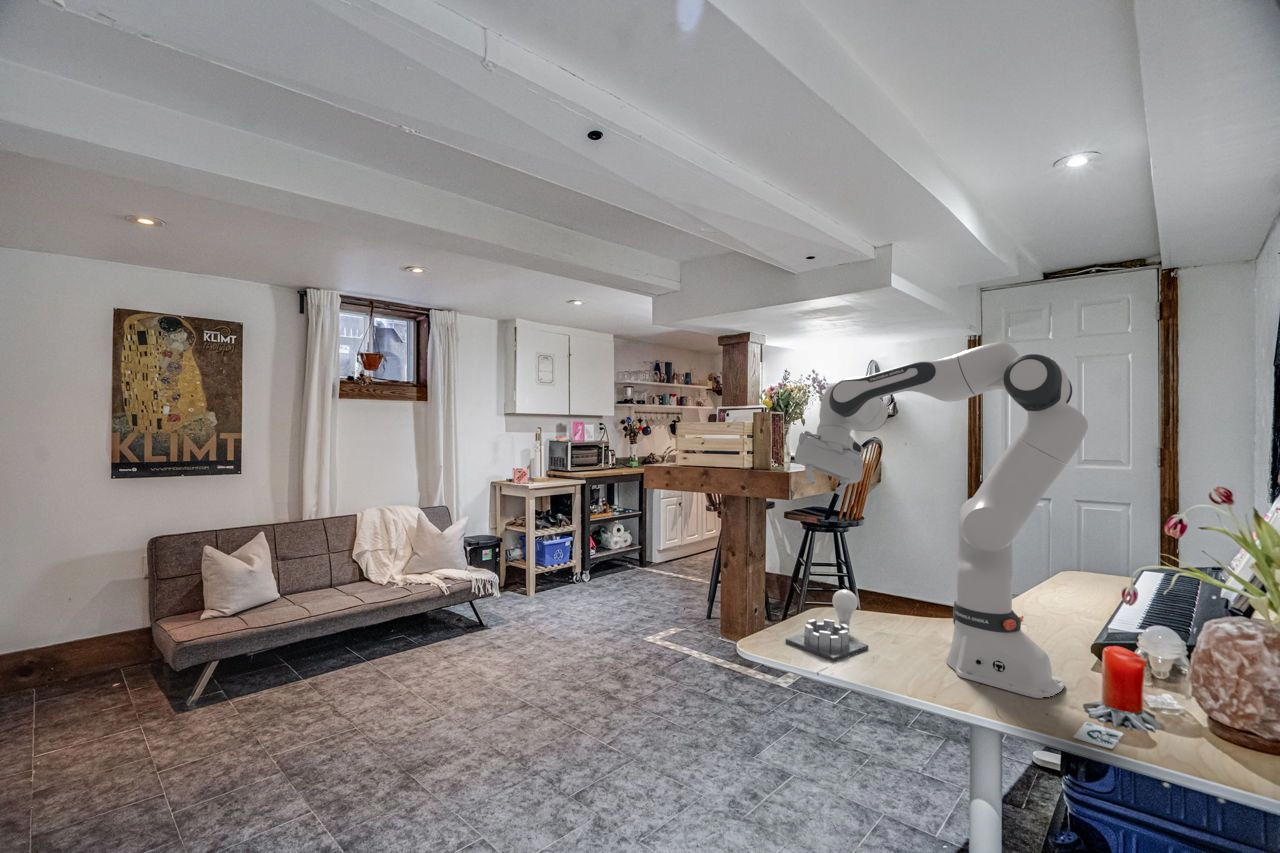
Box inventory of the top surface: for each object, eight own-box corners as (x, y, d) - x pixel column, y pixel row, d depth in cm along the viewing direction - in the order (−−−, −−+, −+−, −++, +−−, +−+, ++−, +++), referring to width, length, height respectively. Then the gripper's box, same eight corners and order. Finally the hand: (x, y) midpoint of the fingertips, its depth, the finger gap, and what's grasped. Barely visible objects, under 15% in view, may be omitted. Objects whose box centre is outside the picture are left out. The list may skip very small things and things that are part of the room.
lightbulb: (829, 632, 157) (830, 590, 157) (833, 625, 162) (834, 585, 162) (854, 637, 154) (856, 594, 154) (858, 629, 160) (859, 588, 159)
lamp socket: (868, 649, 146) (868, 628, 146) (833, 662, 137) (834, 640, 137) (820, 631, 157) (821, 613, 157) (785, 642, 149) (786, 622, 149)
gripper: (808, 426, 158) (800, 475, 153) (869, 450, 164) (863, 498, 159) (794, 431, 163) (786, 478, 159) (853, 454, 169) (846, 501, 165)
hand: (825, 488), depth 159 cm, fingers open, 8 cm apart
